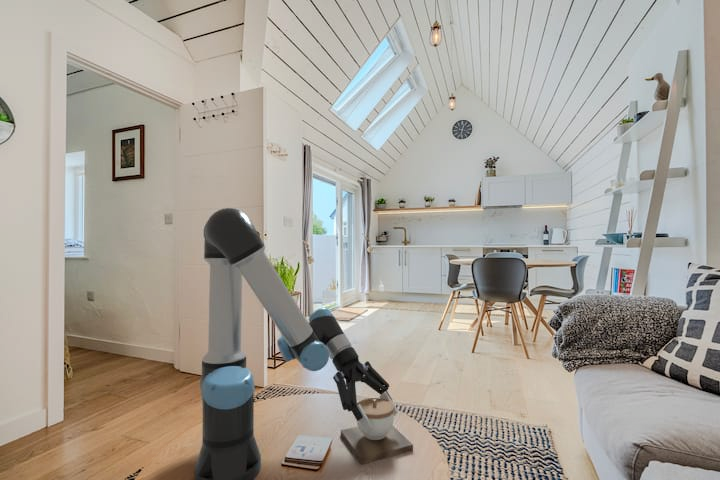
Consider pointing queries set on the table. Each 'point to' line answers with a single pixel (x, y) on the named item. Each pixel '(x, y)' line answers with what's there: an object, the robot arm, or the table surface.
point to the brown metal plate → (375, 444)
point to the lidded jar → (377, 417)
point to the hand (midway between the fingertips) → (383, 422)
